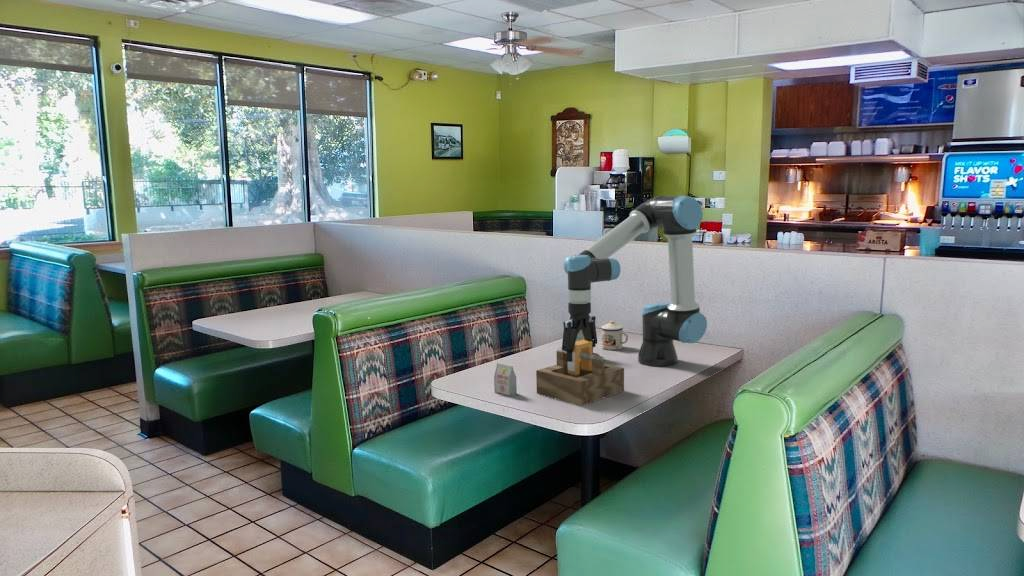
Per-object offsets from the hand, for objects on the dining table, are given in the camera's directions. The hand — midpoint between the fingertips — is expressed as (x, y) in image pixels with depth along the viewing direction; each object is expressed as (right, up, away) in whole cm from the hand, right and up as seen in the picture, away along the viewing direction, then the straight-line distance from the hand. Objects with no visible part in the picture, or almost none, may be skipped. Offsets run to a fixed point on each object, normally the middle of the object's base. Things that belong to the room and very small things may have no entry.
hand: (580, 367), depth 237 cm
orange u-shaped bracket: (0, -1, 0) cm, 1 cm away
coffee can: (+4, -2, +45) cm, 45 cm away
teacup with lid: (+21, +1, +61) cm, 64 cm away
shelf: (0, -8, +1) cm, 8 cm away
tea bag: (-25, -9, +2) cm, 27 cm away
